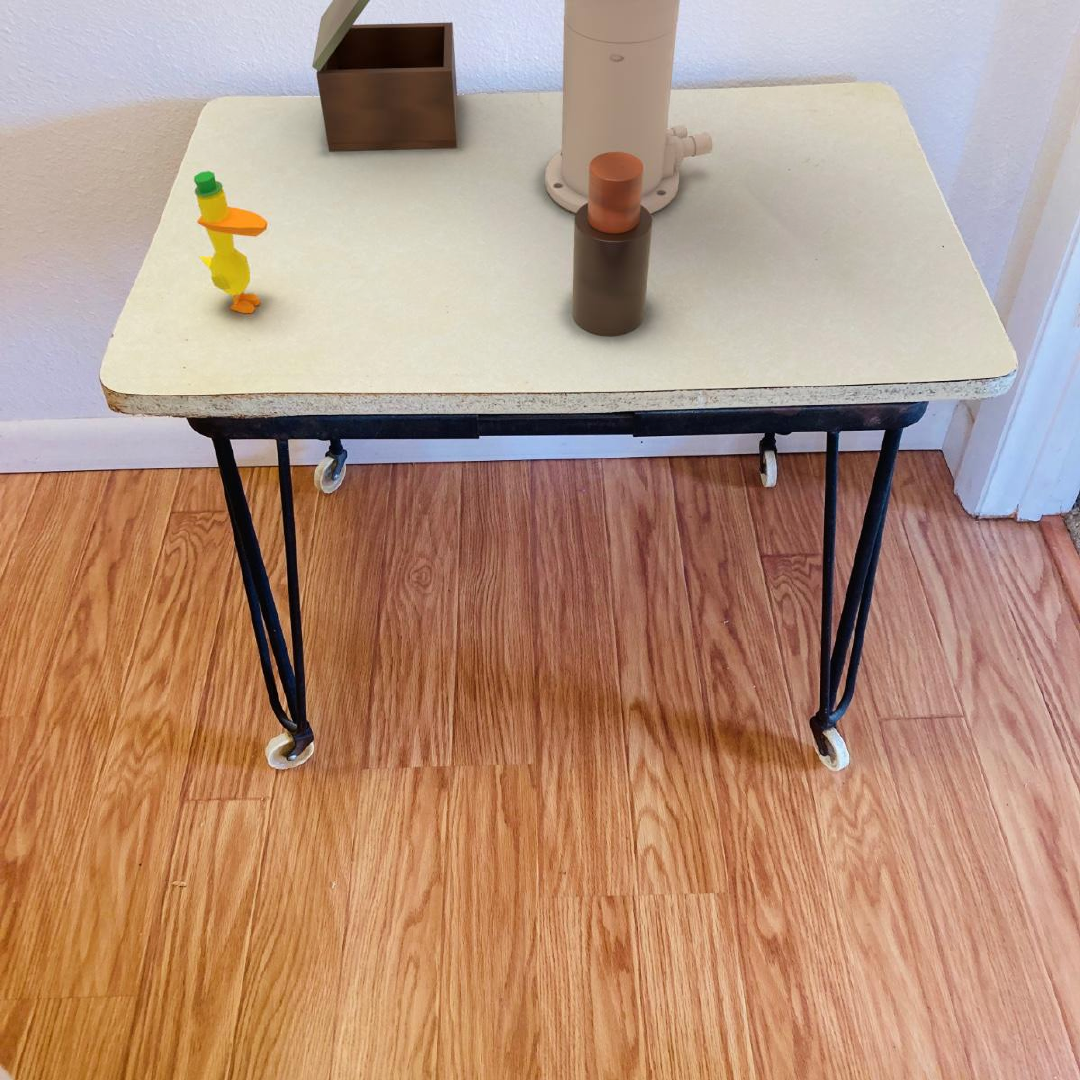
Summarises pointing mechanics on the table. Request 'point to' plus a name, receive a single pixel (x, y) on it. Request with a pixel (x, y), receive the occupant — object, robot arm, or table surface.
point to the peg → (614, 192)
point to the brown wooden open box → (391, 88)
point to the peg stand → (610, 275)
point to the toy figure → (227, 240)
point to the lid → (335, 27)
